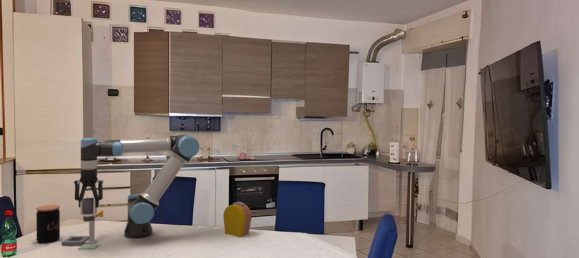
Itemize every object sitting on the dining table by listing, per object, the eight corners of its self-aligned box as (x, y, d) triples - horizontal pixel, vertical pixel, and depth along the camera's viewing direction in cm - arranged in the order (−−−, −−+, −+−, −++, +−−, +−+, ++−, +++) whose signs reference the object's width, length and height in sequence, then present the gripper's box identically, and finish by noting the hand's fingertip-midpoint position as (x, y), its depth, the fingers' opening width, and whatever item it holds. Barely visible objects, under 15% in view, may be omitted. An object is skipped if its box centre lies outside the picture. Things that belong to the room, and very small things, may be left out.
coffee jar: (48, 244, 203) (48, 210, 203) (31, 242, 206) (31, 208, 205) (64, 238, 214) (64, 205, 213) (47, 236, 216) (47, 204, 215)
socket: (99, 239, 213) (99, 217, 213) (92, 245, 203) (92, 222, 203) (70, 239, 212) (70, 217, 211) (61, 245, 202) (61, 222, 201)
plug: (93, 221, 198) (92, 199, 197) (81, 221, 197) (80, 200, 196) (96, 218, 203) (96, 197, 203) (84, 218, 202) (84, 197, 202)
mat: (99, 245, 204) (99, 244, 204) (94, 249, 198) (94, 248, 198) (83, 245, 203) (83, 244, 203) (78, 249, 197) (78, 248, 197)
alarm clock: (251, 234, 228) (252, 203, 227) (242, 237, 221) (243, 205, 220) (232, 229, 236) (232, 199, 235) (223, 233, 229) (223, 202, 228)
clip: (93, 223, 206) (93, 216, 206) (88, 223, 206) (88, 216, 206) (103, 216, 221) (103, 209, 220) (99, 216, 220) (99, 209, 220)
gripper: (110, 167, 204) (110, 211, 204) (73, 167, 202) (73, 211, 203) (105, 169, 196) (104, 215, 197) (66, 169, 194) (66, 215, 195)
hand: (88, 213), depth 200 cm, fingers closed on plug, 5 cm apart
